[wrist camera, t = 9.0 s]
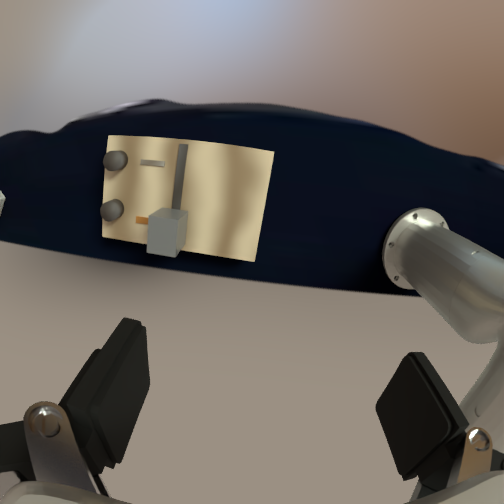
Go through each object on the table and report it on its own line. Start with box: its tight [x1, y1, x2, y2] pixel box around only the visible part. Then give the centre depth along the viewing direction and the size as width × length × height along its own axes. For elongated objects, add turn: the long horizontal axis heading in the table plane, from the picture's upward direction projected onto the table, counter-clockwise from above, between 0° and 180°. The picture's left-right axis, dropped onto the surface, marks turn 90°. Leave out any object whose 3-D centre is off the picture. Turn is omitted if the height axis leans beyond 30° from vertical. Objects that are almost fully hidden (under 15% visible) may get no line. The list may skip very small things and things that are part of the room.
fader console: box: [100, 136, 274, 262], centre depth 32 cm, size 20×13×6 cm, turn 81°
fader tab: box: [147, 207, 188, 257], centre depth 30 cm, size 3×4×4 cm
